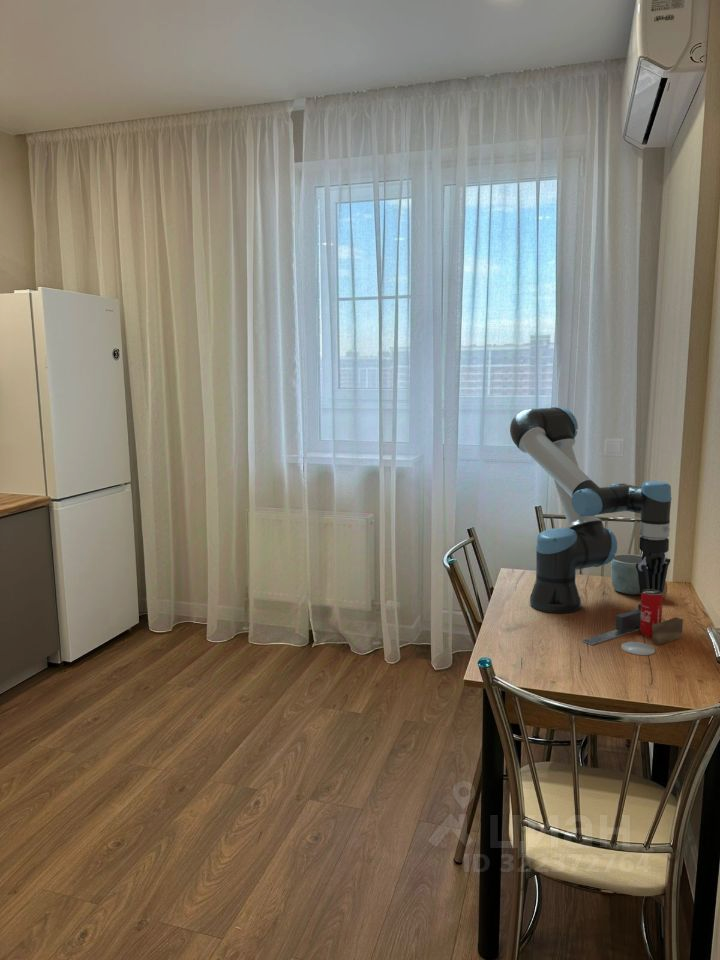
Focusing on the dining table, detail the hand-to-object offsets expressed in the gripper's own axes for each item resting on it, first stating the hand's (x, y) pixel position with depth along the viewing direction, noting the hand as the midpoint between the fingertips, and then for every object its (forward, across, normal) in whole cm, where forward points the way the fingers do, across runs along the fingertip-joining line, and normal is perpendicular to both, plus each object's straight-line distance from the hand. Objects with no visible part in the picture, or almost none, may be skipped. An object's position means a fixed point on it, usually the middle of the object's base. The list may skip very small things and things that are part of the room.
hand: (650, 618), depth 189 cm
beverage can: (+2, -8, -6) cm, 10 cm away
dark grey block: (+1, -8, 0) cm, 8 cm away
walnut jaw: (+1, -8, -11) cm, 14 cm away
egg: (+2, +20, +12) cm, 23 cm away
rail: (+1, -15, 0) cm, 15 cm away
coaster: (+1, -20, -10) cm, 22 cm away
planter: (+2, +21, +22) cm, 30 cm away
